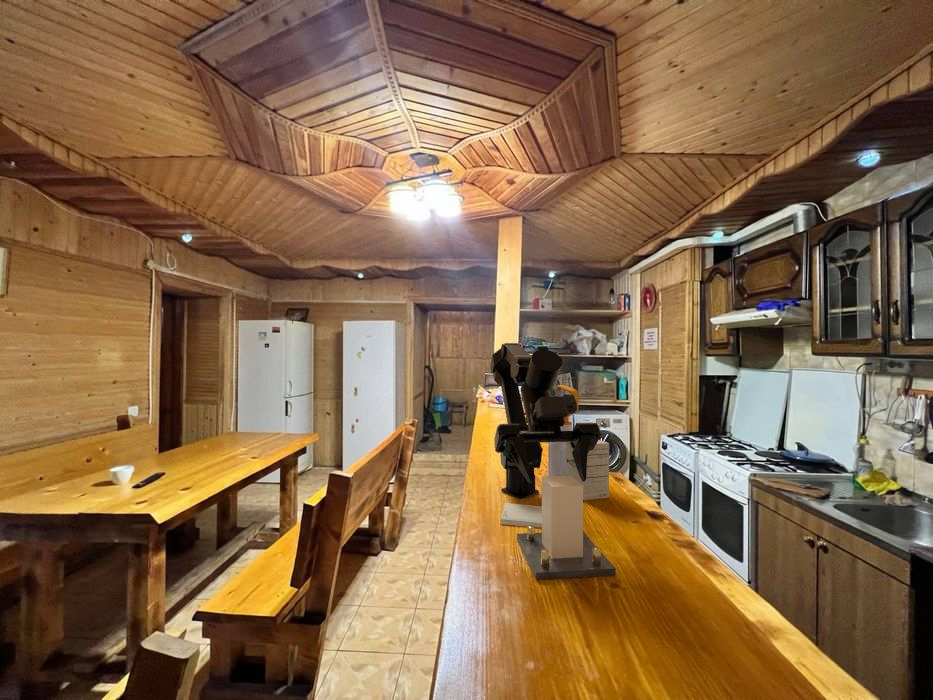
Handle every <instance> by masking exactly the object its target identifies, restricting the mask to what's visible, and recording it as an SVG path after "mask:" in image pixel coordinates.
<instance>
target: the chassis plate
mask: <svg viewBox="0 0 933 700" xmlns="http://www.w3.org/2000/svg"><path fill="white" fill-rule="evenodd" d="M526 527H527V529H526V531H527V533H525V532H523V533H522V532H521V533H516V541H517V543H518V545H519V547H520V549H521V552H522V554H523V555H524V557H525V560H526V562H527V565H528V566H529V568H530V571H531V572H532V575H533V577H534V578H535V580H537V581H539V580H541V581H542V580H555V579H558V580H559V579H570V578H571V579H573V578H575V579H576V578H591V577H610V576H616V575H617V573H616V572H617V569H616V567H615V565H613V564H612V562H611V561H610V560H609V559H608V558H607V556H605V554H604V553H603V552H602V551H601V549H602V548H601V547H599V546H597V545H596V544H595V543H594V542H593V541H592V540H591V538H590V537H589V536H588V534H586V532H584V531H583V557H572V558H554V559H552V558H551V556H550V555H549V550H547V549H546V548H545V547H544V545H543V543H542V532H535V527H534V526H532V525H529V526H526Z"/></svg>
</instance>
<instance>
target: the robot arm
mask: <svg viewBox="0 0 933 700" xmlns="http://www.w3.org/2000/svg"><path fill="white" fill-rule="evenodd" d="M491 356H492V357H491V360H490V365H489V366H490V368H489V369H490V370H489V371H490V373H491V374H492V377H493V381H494V382H495V383H496V384H497V385H499V387H501V394H502V400H503V404H504V405H503V406H504V411H505V417H506V421H507V423H500V424H499V425H497V427H496V430H495V435H494V440H493V443H494V450H495V452H496V453H498V454H500V465H501V466H502V468H503V469H504V470H505V487H503V488H501V489H500V490H501V492H503V493H505V494H507V495H510V496H512V497H514V498H518V499H520V500H521V499H524V498H527V497H530V496H531V497H532V496H534V495H536V494H537V495H538V494H539V493H540V491H539V489H536V475H535V469H540V468H541V464H542V456H543V450H544V449H543V447H542V445H541V443H543V444H544V443H545V444H548V442H570V444H571V447H572V448H573V449H574V450H573V452H572V455H573V458H574V461H575V464H576V467H577V470H578V473H579V476H580V478H581V480H582V482H585V480H586V473H587V455H588V453H589V451H590V450H593V449H594V447H595V446H596V444H597V442H598V440H601V439H600V438H601V436H602V435H603V434H602V429H601V427H600V426H599V424H598V423H596V422H576V423H575V425H574V427H573V428H572V431H561V428H560V427H561V426H564V424H565V421H564V417H566V416H568V415H569V414H571V415H573V414H575V413H577V412H578V411H577V402H576V399H575V397H574V395H571V394H563V396H552V395H551V394H552V393H551V391H550V390H552V389H554V388H555V385H556V382H557V379H558V377H559V375H560V372H561V369H562V366H563V363H564V362H563V359H562V357H561V356H559V354H557V353H556V352H554V351H552V350H549V348H548V346H543V345H542V346H539V345H538V346H537V347H536V349H535V351H534V352H533V353H532V354H530V353H529V352H527V350H525V348H523V346H522V344H521V343H517V342H516V343H515V342H504V343H502V344H501V346H500V348H499V349H498V350H497V351H495V352H494V353H492V355H491ZM519 384H521V387H519ZM576 411H577V412H576Z"/></svg>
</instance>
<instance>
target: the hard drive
mask: <svg viewBox="0 0 933 700" xmlns="http://www.w3.org/2000/svg"><path fill="white" fill-rule="evenodd" d="M499 522H500V525H508V526H517V527H527V526H529V525H532V526H534V528H541V529H542V505H529V504H519V503H507V502H506V503H505V502H504V503H503V508H502V511H501V516H500V521H499Z"/></svg>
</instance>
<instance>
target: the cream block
mask: <svg viewBox="0 0 933 700" xmlns="http://www.w3.org/2000/svg"><path fill="white" fill-rule="evenodd" d="M541 506H542V528H541V533H542V543H543V545H544V547H545V548H546V549H547V550H549V555H550V556H551V558H552V559H554V558H572V557H583V532H584V500H583V485H581V484H580V483H579V482H578V481H577V480H575V479H574V478H573V477H572V476H548V475H547V476H544V475H543V476H541Z"/></svg>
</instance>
